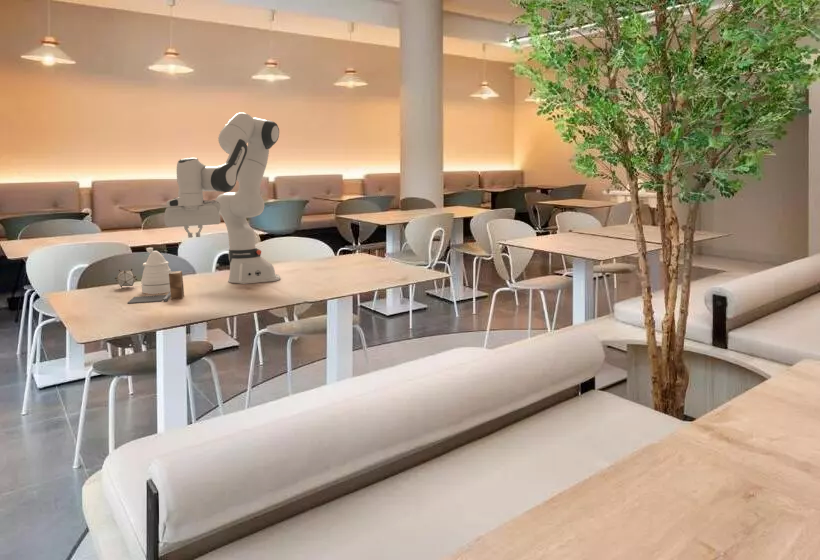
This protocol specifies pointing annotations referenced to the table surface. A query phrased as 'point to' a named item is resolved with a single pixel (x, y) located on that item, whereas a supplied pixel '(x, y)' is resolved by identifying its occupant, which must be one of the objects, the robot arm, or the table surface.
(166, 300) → the rail
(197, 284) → the table surface
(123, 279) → the twenty-sided die
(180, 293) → the walnut block
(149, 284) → the honey pot
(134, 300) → the mat
